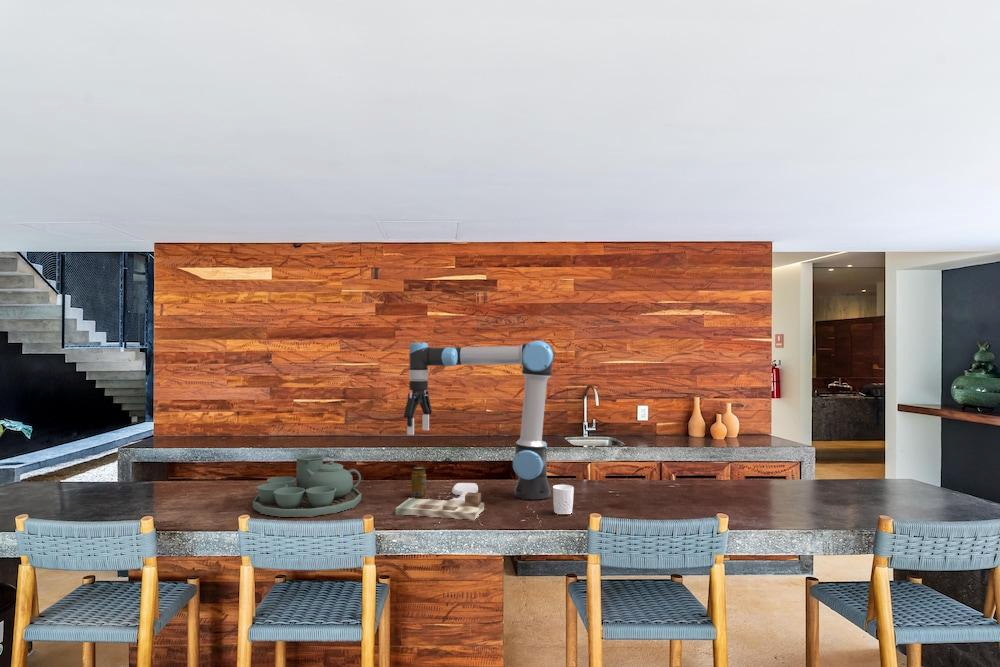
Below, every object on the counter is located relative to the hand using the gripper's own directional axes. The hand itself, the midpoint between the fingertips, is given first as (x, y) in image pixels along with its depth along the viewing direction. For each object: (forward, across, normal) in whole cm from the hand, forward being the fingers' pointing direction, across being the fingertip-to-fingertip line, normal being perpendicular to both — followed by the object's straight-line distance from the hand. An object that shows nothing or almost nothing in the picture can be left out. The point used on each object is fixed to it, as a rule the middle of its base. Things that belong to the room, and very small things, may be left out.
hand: (418, 432), depth 251 cm
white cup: (+28, +1, +61) cm, 67 cm away
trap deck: (+27, +16, +17) cm, 36 cm away
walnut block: (+24, +10, +28) cm, 39 cm away
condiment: (+27, -2, 0) cm, 27 cm away
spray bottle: (+28, -11, +15) cm, 33 cm away
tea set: (+27, +24, -35) cm, 50 cm away
